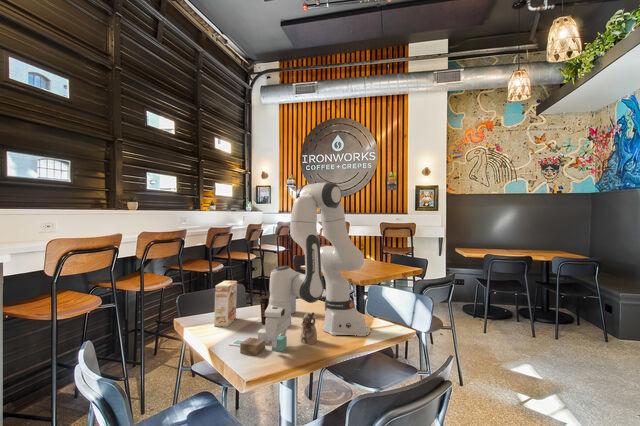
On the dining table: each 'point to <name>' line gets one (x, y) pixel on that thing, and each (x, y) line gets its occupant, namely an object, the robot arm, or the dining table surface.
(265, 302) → the coffee cup
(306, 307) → the dining table surface
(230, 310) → the coffeecake box
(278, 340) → the teal cube
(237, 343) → the tile
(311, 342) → the figurine
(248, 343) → the walnut base
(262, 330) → the cream cube
